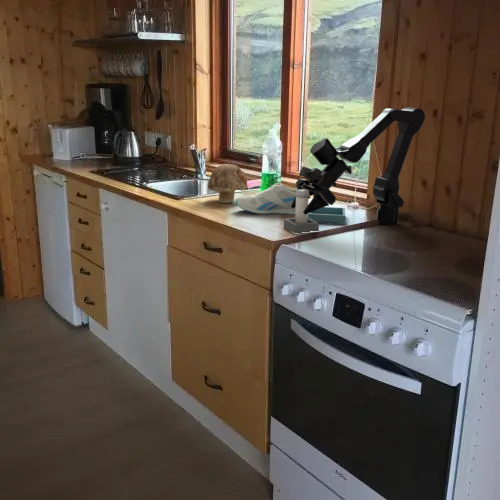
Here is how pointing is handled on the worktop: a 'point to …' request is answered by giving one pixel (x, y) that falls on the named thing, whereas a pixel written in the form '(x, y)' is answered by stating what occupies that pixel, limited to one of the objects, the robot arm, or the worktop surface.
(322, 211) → the tray
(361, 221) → the worktop surface
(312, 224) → the grey square open box
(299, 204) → the cylinder
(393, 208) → the robot arm
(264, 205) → the sneaker
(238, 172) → the sculpture
